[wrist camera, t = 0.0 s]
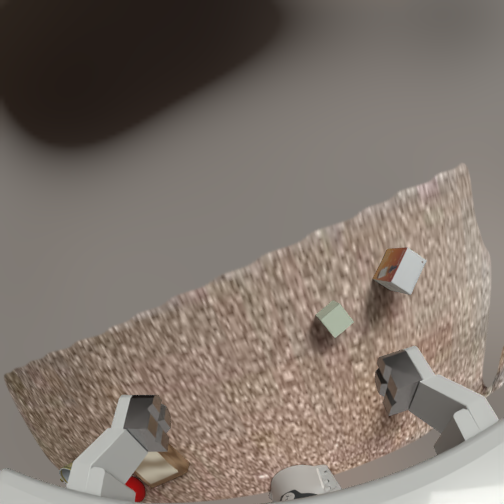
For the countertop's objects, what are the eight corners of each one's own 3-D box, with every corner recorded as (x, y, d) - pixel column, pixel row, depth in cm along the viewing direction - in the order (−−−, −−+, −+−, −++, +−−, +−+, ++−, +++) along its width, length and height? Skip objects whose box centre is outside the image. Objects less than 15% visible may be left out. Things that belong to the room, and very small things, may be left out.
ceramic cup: (87, 450, 64) (72, 467, 54) (106, 475, 63) (93, 492, 53) (63, 455, 64) (48, 469, 54) (81, 478, 64) (68, 493, 54)
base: (190, 463, 63) (186, 473, 58) (156, 479, 63) (151, 489, 58) (153, 427, 64) (146, 436, 59) (121, 445, 64) (114, 454, 59)
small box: (387, 248, 64) (407, 245, 53) (405, 260, 63) (427, 259, 53) (371, 279, 64) (390, 282, 53) (390, 291, 63) (411, 295, 53)
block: (346, 316, 63) (354, 322, 57) (328, 331, 63) (335, 338, 57) (332, 300, 64) (339, 303, 58) (315, 314, 64) (320, 320, 58)
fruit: (154, 485, 63) (144, 505, 53) (140, 495, 63) (129, 514, 53) (128, 466, 63) (115, 485, 53) (115, 478, 63) (103, 496, 53)
